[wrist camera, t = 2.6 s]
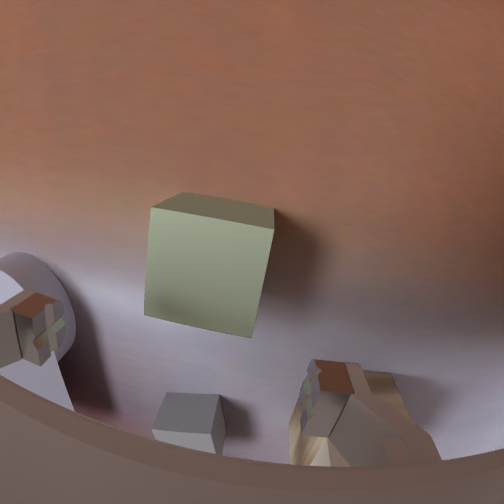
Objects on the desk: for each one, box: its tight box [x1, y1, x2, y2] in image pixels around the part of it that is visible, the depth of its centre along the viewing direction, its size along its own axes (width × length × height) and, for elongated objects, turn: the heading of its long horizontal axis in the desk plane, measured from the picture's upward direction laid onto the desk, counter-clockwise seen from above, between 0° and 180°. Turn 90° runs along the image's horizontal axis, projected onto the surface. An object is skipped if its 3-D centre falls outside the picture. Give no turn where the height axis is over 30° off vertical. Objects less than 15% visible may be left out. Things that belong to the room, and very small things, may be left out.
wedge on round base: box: [0, 252, 76, 412], centre depth 18 cm, size 9×7×13 cm
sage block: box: [144, 192, 274, 338], centre depth 16 cm, size 5×5×5 cm
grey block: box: [152, 392, 226, 455], centre depth 20 cm, size 4×4×4 cm
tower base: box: [289, 371, 412, 466], centre depth 18 cm, size 6×6×6 cm
